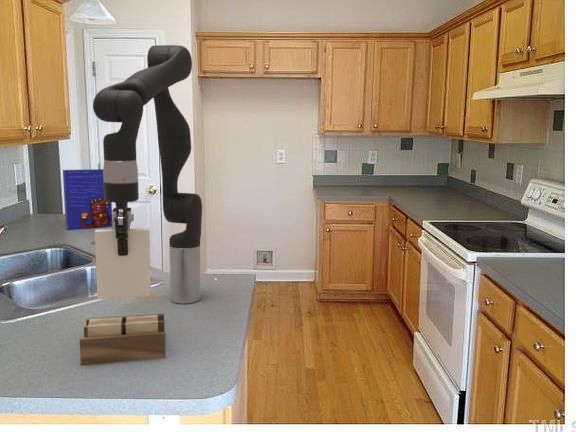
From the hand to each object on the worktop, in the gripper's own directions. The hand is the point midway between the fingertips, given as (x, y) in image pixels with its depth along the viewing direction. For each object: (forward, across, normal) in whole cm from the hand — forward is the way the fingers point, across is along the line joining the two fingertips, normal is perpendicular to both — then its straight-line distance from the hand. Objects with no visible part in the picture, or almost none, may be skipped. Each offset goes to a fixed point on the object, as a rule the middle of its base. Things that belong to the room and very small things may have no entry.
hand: (123, 253), depth 118 cm
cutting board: (+10, 0, 0) cm, 10 cm away
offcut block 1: (+22, -6, +4) cm, 23 cm away
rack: (+23, -4, 0) cm, 24 cm away
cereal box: (+24, +153, +26) cm, 157 cm away
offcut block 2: (+22, -6, -4) cm, 23 cm away
